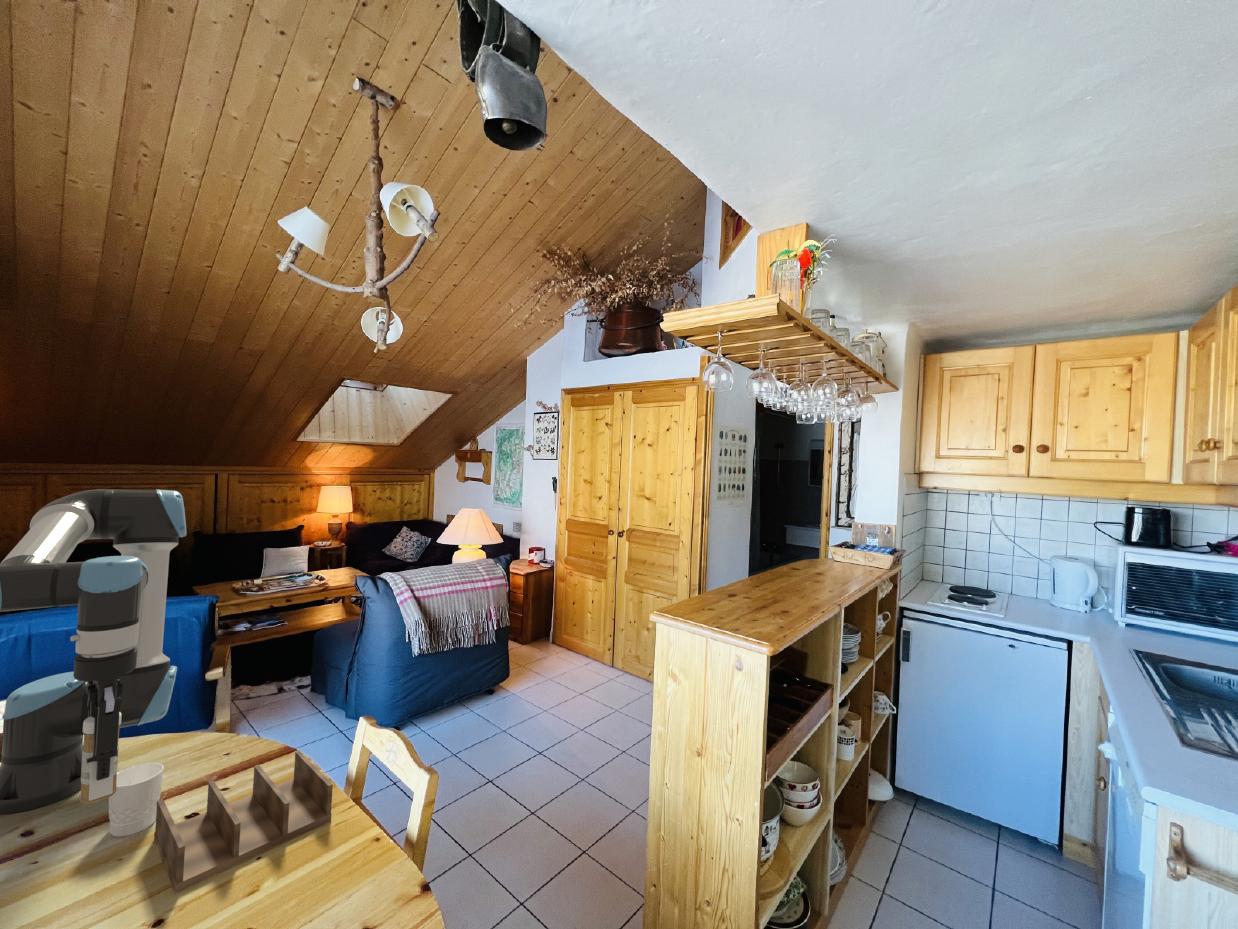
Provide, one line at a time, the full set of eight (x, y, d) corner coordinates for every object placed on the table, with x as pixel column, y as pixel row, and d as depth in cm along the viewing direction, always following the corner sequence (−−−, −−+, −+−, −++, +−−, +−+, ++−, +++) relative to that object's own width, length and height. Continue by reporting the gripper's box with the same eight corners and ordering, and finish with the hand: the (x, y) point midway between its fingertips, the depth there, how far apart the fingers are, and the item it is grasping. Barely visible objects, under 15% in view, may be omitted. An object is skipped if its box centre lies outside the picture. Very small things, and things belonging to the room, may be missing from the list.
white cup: (126, 843, 96) (129, 789, 96) (94, 835, 98) (97, 782, 98) (170, 816, 104) (173, 766, 104) (140, 808, 105) (143, 760, 106)
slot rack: (154, 840, 97) (156, 800, 97) (297, 783, 116) (299, 750, 116) (175, 893, 86) (178, 848, 86) (331, 821, 105) (333, 784, 105)
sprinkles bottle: (119, 795, 87) (124, 715, 87) (81, 809, 83) (86, 725, 83) (113, 784, 89) (118, 707, 89) (75, 797, 86) (80, 716, 86)
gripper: (69, 642, 89) (61, 777, 89) (80, 671, 78) (70, 825, 78) (128, 632, 95) (121, 759, 95) (146, 658, 84) (138, 802, 84)
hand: (98, 789), depth 86 cm, fingers closed on sprinkles bottle, 4 cm apart
